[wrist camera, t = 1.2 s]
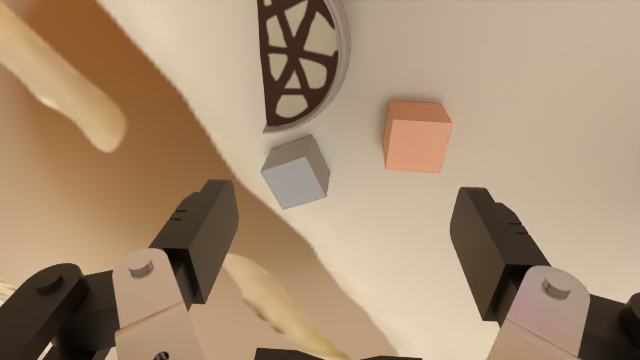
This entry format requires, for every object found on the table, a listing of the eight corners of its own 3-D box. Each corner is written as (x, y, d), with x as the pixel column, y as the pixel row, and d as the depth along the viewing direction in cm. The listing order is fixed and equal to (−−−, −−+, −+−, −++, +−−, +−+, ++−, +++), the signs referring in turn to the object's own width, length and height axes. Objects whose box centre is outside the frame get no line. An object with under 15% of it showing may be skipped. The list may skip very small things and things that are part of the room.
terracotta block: (440, 103, 32) (452, 123, 28) (430, 148, 35) (439, 173, 31) (388, 100, 33) (393, 119, 28) (382, 145, 35) (385, 169, 31)
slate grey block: (312, 134, 35) (305, 156, 31) (330, 171, 38) (326, 197, 34) (271, 148, 37) (260, 171, 33) (291, 184, 39) (283, 209, 35)
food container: (348, 99, 33) (344, 144, 25) (287, 96, 33) (263, 139, 25) (357, -51, 26) (356, -61, 18) (281, -52, 27) (245, -62, 18)
